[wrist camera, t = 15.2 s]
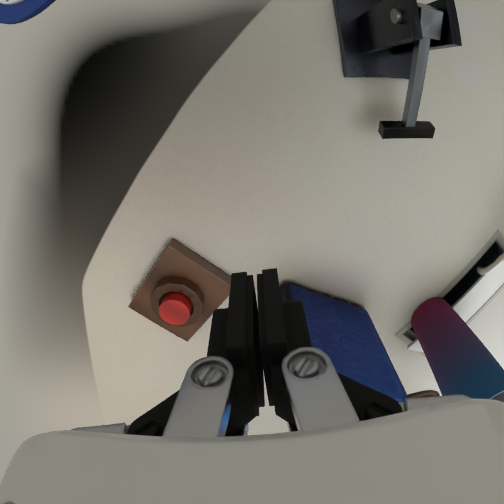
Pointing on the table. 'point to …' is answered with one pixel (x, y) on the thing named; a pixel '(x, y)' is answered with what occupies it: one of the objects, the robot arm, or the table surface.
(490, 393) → the cup
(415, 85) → the lever
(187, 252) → the button box
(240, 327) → the robot arm
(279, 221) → the table surface
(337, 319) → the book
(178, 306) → the button
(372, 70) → the bracket
